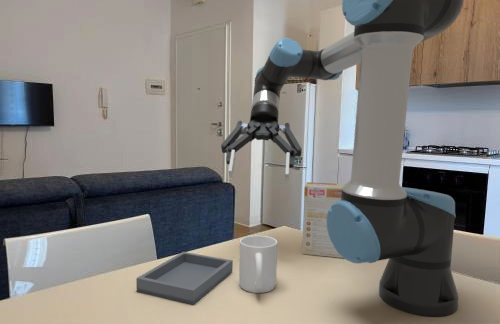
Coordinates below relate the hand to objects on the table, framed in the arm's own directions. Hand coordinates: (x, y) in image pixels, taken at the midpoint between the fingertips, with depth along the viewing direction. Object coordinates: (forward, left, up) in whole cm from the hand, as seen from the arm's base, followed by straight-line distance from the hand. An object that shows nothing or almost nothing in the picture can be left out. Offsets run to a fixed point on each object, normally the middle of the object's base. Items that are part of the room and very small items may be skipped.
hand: (258, 175), depth 90 cm
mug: (-4, +10, -24) cm, 26 cm away
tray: (+12, +13, -23) cm, 29 cm away
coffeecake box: (-14, -20, -24) cm, 34 cm away
